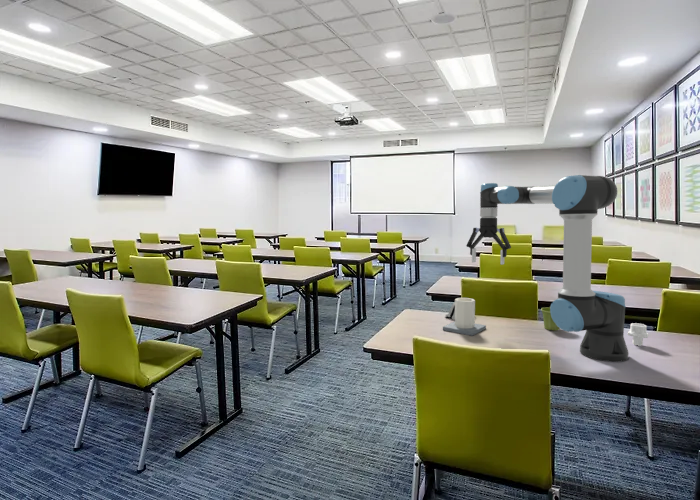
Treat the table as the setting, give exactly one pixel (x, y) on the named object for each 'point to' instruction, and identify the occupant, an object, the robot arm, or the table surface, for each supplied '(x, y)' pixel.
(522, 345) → the table surface
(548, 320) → the plant pot
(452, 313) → the grey curved piece
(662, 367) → the table surface
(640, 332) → the white figurine planter
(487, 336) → the table surface
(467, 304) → the white faceted cup
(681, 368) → the table surface
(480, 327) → the post base
